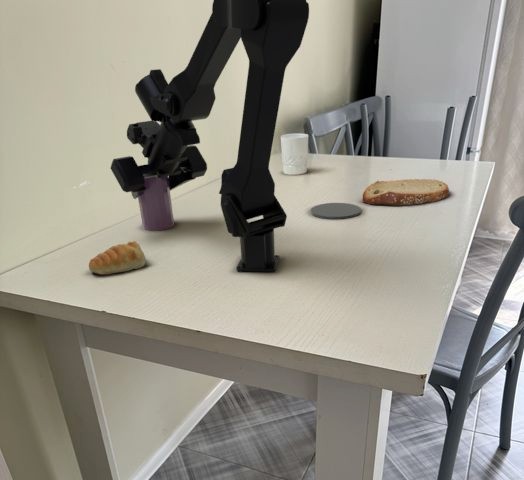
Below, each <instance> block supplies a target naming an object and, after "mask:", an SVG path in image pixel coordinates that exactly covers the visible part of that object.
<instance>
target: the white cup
mask: <svg viewBox="0 0 524 480" xmlns="http://www.w3.org/2000/svg"><path fill="white" fill-rule="evenodd" d="M309 138H310V137H309V134H307V133H286V134H281V135H280V149H281V150H280V151H281V161H282V162H281V163H282V170H283V174H285V175H289V176H298V175H304V174H306V173H307V171H308V170H307V169H308V168H307V166H308V160H309V159H308V156H309Z"/></svg>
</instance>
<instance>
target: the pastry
mask: <svg viewBox="0 0 524 480" xmlns="http://www.w3.org/2000/svg"><path fill="white" fill-rule="evenodd" d="M146 263H147V258H146V255H145V253H144V251H143V250H142V248H141V246H140V244H139V243H138V242H136V241H135V240H134V241H128V242H127V243H122V244H117V245H112V246H110V247H108V249H106V250H104V251H103V252H100V253H98V254H97V255H96V256H94V257H93V258H91V259H90V260H89V263H88V270H89V271H90V272H92V273H95V274H98V275H103V276H105V275H108V276H109V275H111V274H119V273H122V272H123V273H125V272H129V271H132V270H134V269H135V270H138V269H140V268H143V267H144V266H145V265H146Z"/></svg>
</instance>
